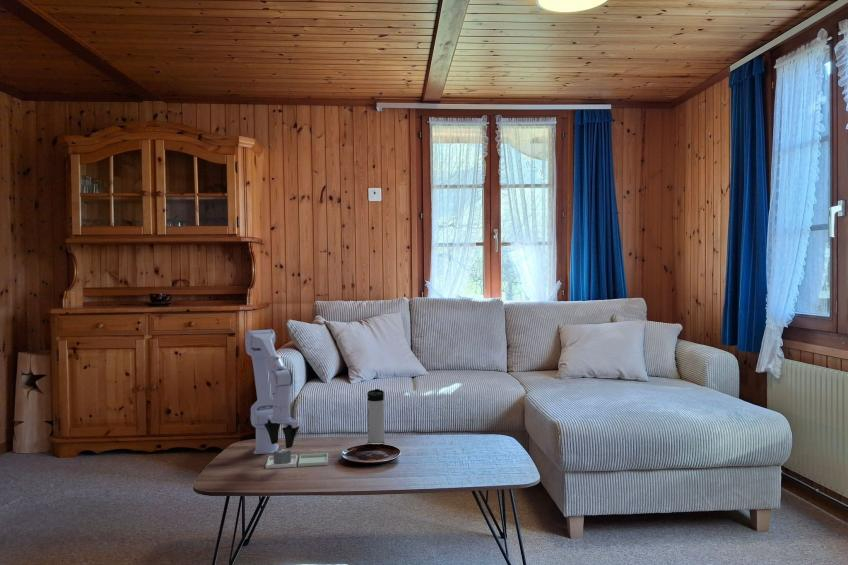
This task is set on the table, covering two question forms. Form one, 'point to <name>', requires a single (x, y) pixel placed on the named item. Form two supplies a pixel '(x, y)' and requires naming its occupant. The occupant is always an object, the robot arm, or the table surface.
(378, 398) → the travel mug
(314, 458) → the tray
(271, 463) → the tray
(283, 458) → the letter cube
